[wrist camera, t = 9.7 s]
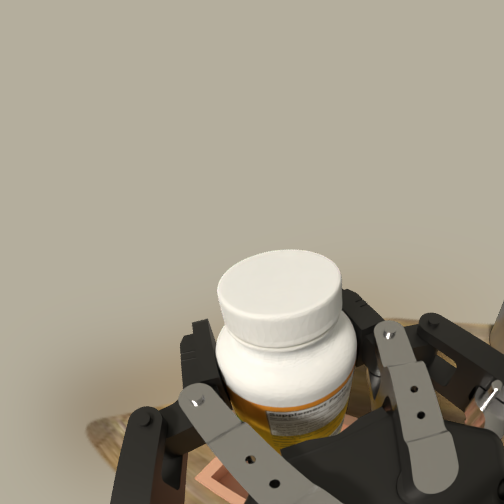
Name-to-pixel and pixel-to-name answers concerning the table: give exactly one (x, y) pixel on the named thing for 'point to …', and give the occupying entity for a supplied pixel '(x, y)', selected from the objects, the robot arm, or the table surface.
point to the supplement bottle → (286, 345)
